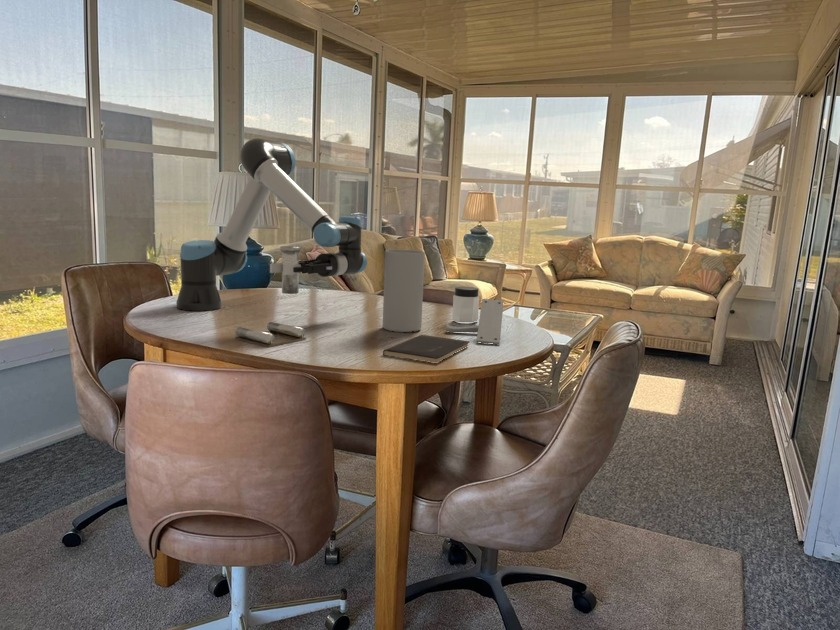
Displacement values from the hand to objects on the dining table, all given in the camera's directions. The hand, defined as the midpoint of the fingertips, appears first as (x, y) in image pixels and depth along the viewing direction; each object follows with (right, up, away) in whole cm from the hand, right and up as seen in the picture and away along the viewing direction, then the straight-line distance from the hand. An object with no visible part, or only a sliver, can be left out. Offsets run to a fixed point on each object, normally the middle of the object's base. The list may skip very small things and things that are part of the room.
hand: (277, 269), depth 188 cm
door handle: (+59, -21, +8) cm, 63 cm away
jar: (+58, -16, +32) cm, 68 cm away
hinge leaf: (0, -21, -7) cm, 22 cm away
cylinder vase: (+37, -18, +16) cm, 44 cm away
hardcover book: (+45, -24, -13) cm, 52 cm away
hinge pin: (+3, -7, +6) cm, 9 cm away
